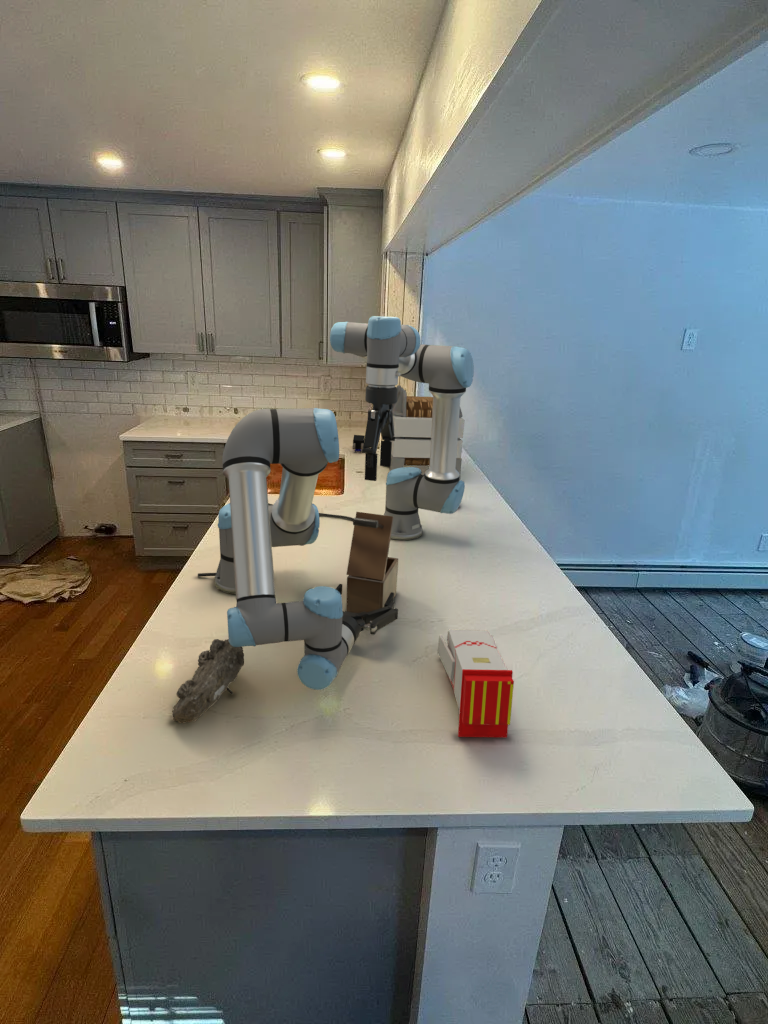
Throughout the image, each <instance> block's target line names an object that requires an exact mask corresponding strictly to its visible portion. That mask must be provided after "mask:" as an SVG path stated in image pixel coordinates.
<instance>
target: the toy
mask: <svg viewBox="0 0 768 1024" xmlns="http://www.w3.org/2000/svg"><path fill="white" fill-rule="evenodd" d="M446 640H447V643H446V641H445V639H444V636H443V635H442V634H439V637H438V646H437V656H438V657H439V659H440V661H441V663H442V666H443V668H444V670H445V672H446V674H447V677H448V679H449V681H450V684H451V687H452V690H453V693H454V697H455V701H456V705H457V708H458V711H459V714H458V715H459V716H458V730H457V731H458V732H457V737H458V738H508V731H509V726H510V725H511V717H512V707H513V697H514V696H513V695H514V684H515V680H514V679H513V673H514V671H513V670H512V669H508V667H507V665H506V662H505V661H504V659H503V658H502V655H501V653H500V651H499V649H498V647H497V643H496V639H495V637H494V635H493V634H491V632H490V631H489V629H467V628H466V629H465V628H463V629H461V628H460V629H459V628H448V630H447V639H446Z"/></svg>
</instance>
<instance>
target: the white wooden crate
mask: <svg viewBox="0 0 768 1024" xmlns="http://www.w3.org/2000/svg"><path fill="white" fill-rule="evenodd" d="M396 387H397V389H398V391H397V402H396V403H395V404H393V423H394V434H395V435H394V437H395V441H391V442H392V450H391V466H390V467H389V472H390V471H391V470H393V469H397V468H403V467H405V466H406V467H417V466H418V467H430V448H431V429H432V410H433V396H415V395H414V396H413V395H412V396H411V395H407V394H408V393H407V390H406V389H404V388H403V387H402V385H399V384H397V385H396ZM464 429H465V419H464V418H463V411H462V408H461V407H460V412H459V425H458V439H457V453H456V468H455V469H456V470H457V471H458V472H459V474H460V476H459V480H461V472H462V461H463V460H462V453H463V442H464V441H463V440H462V439H463V438H464V431H465V430H464Z"/></svg>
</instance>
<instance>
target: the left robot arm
mask: <svg viewBox="0 0 768 1024" xmlns="http://www.w3.org/2000/svg"><path fill="white" fill-rule="evenodd" d="M339 439H340V438H339V431H338V423H337V419H336V415H335V413H334V412H333V410H331V409H328V408H318V407H312V408H311V407H309V408H308V407H307V408H305V407H304V408H259V409H256V410H253V411H251V412H249V413H248V414H246V415H245V416H243V417H242V418H241V419H240V420H239V421H238V422H237V423H236V425H234V427H233V428H232V430H231V432H230V434H229V435H228V437H227V439H226V442H225V444H224V449H223V453H222V474H223V476H224V477H225V478H226V479H228V490H229V491H228V494H229V495H230V497H229V503H227V504H225V505H223V506H222V507H221V508H220V509H219V511H218V517H217V518H218V521H217V528H218V535H219V536H218V537H219V554H220V556H219V557H220V559H219V562H218V565H217V568H216V572H202V573H201V572H200V573H197V577H198V578H199V577H200V578H201V577H202V578H203V577H214V585H215V588H217V589H218V591H221V592H224V593H227V594H233V595H235V601H236V604H235V606H234V607H230V608H228V609H227V611H226V617H227V618H226V619H227V637H228V638H227V639H229V643H230V645H232V646H233V647H242V648H245V647H257V646H262V645H270V644H279V643H288V642H296V641H303V644H304V645H303V646H304V647H303V648H304V651H303V652H304V653H303V656H302V657H301V658H300V660H299V663H298V665H297V669H296V673H297V677H298V679H299V681H300V682H301V684H302V685H304V686H305V687H306V688H308V689H311V690H313V691H314V690H315V691H321V690H325V689H327V688H328V687H330V685H331V684H332V682H333V681H334V680H335V679H336V678H337V676H338V674H339V671H340V669H341V668H342V666H343V664H344V662H345V660H346V659H347V657H348V655H349V654H350V652H351V650H352V648H353V647H354V646H355V643H356V642H357V640H358V638H359V637H360V634H361V633H362V632H364V631H368V632H369V635H372V636H374V635H376V634H377V632H378V631H379V630H382V629H383V628H384V627H386V626H388V625H390V624H392V623H394V622H395V621H397V620H398V619H399V609H398V608H396V607H395V606H396V605H395V604H396V603H395V601H394V599H395V597H394V593H392V592H391V593H390V595H389V597H388V599H387V601H386V602H385V604H384V607H383V608H380V609H376V610H373V611H370V612H367V613H366V612H365V611H364V612H361V613H352V612H348V611H346V610H345V611H344V610H343V599H342V598H343V597H342V595H343V584H342V583H338V584H337V587H336V588H334V587H331V586H325V585H319V586H314V587H313V588H309V589H308V590H306V591H305V592H304V595H303V599H302V600H298V601H288V602H277V596H276V584H275V573H274V572H275V571H274V558H273V548H279V547H281V548H282V547H293V546H300V547H302V546H306V545H312V544H314V543H315V542H316V540H317V539H318V537H319V532H320V530H319V529H320V521H321V520H320V515H319V513H320V511H319V508H318V506H317V505H316V504H314V503H313V502H314V501H313V500H314V496H315V492H316V487H317V484H318V478H319V474H321V473H322V472H323V471H325V469H326V468H327V466H328V464H332V463H336V462H338V461H339V460H340V440H339ZM278 464H279V465H280V466H281V467H282V471H281V480H280V485H279V486H280V487H279V495H278V498H277V499H276V500H275V501H274V502H273V505H268V503H269V495H268V482H267V481H268V480H267V477H268V476H269V475H270V474H271V471H272V470H271V465H278ZM362 617H363V618H362Z"/></svg>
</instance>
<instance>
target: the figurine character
mask: <svg viewBox="0 0 768 1024" xmlns="http://www.w3.org/2000/svg"><path fill="white" fill-rule="evenodd" d="M364 439H365V435H361V434H353V439H352V446H351V447H352V450H354V453H357V452H359V453H360V454H362V449H363V445H364Z"/></svg>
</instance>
